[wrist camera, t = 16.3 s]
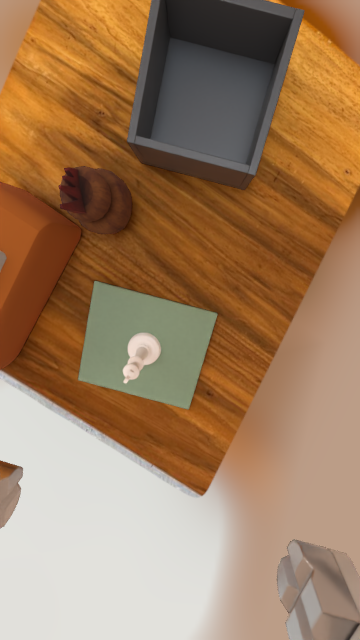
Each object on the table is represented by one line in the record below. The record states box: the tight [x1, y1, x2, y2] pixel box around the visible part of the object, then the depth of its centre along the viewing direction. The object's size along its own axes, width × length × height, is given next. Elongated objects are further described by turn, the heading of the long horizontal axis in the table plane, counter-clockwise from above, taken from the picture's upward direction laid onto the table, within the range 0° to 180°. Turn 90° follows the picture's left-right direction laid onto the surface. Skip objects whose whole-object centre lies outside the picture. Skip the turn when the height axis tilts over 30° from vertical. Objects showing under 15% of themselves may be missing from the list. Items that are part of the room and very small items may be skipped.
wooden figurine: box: [59, 166, 132, 234], centre depth 28 cm, size 7×6×15 cm
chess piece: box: [123, 333, 161, 384], centre depth 35 cm, size 5×5×10 cm
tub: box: [127, 0, 304, 190], centre depth 29 cm, size 14×14×7 cm
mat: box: [78, 281, 217, 409], centre depth 40 cm, size 18×16×1 cm
